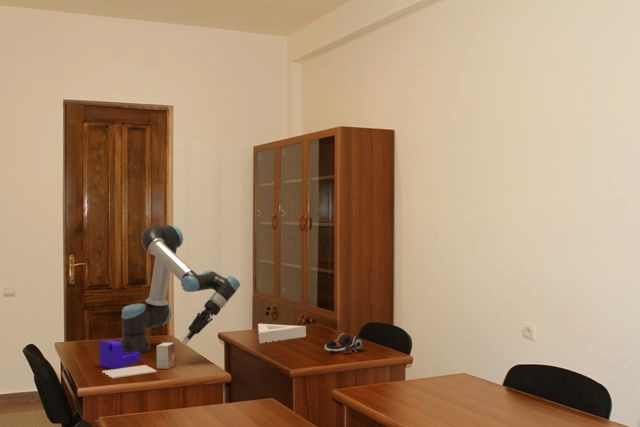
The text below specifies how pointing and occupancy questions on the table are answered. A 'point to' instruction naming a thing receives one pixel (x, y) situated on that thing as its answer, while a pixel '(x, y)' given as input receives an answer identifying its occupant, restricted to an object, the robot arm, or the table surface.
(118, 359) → the bracket
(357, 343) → the headset
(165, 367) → the small box
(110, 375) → the mat
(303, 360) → the table surface
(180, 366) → the table surface
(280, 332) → the triangular ruler
